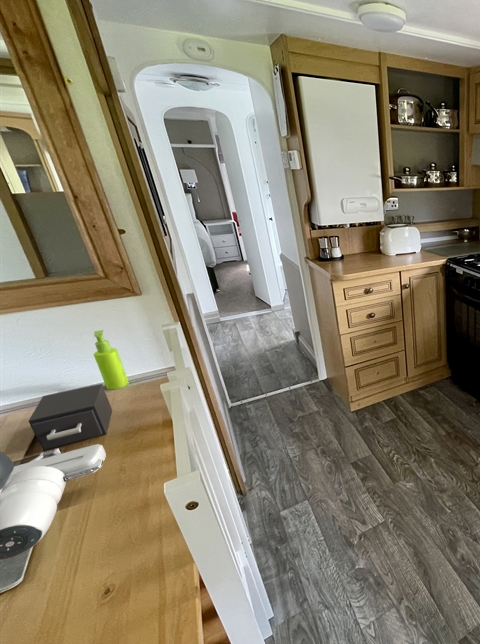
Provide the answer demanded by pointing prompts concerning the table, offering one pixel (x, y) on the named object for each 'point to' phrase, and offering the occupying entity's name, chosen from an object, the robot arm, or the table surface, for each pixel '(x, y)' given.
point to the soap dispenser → (109, 363)
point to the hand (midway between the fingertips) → (51, 452)
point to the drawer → (67, 429)
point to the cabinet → (74, 406)
